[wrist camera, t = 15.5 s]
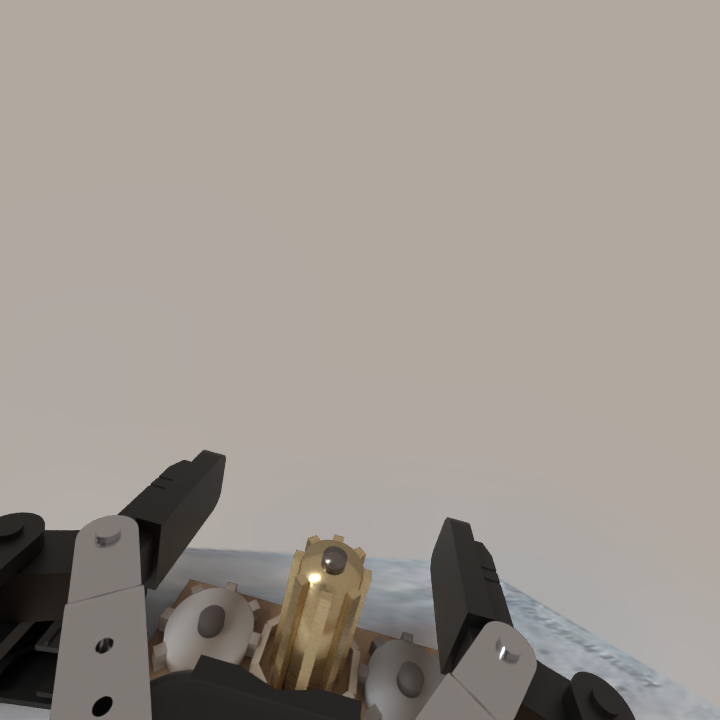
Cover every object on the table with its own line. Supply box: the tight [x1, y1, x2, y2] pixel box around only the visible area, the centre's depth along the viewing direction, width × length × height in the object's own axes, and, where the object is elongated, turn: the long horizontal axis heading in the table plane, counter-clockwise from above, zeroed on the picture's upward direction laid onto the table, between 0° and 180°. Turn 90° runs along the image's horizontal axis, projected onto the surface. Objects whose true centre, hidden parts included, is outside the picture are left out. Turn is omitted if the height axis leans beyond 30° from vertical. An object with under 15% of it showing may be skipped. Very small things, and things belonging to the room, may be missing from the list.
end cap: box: [0, 587, 147, 709], centre depth 27 cm, size 10×7×7 cm
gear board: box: [148, 579, 446, 720], centre depth 30 cm, size 25×9×4 cm, turn 83°
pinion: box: [269, 535, 372, 692], centre depth 28 cm, size 6×6×12 cm
